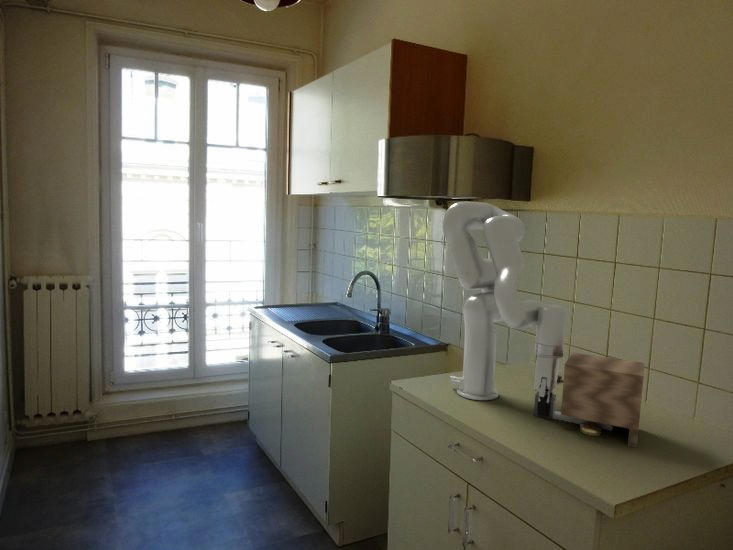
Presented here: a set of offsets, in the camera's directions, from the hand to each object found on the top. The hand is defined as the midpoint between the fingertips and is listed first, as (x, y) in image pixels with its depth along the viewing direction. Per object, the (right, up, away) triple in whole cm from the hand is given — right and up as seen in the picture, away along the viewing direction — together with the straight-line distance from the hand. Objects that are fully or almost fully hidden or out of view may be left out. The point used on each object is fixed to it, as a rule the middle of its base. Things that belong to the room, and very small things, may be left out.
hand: (544, 412), depth 151 cm
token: (+8, -3, -10) cm, 14 cm away
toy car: (+11, +2, +33) cm, 35 cm away
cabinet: (+11, -2, -9) cm, 15 cm away
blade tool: (+6, -1, -3) cm, 7 cm away
